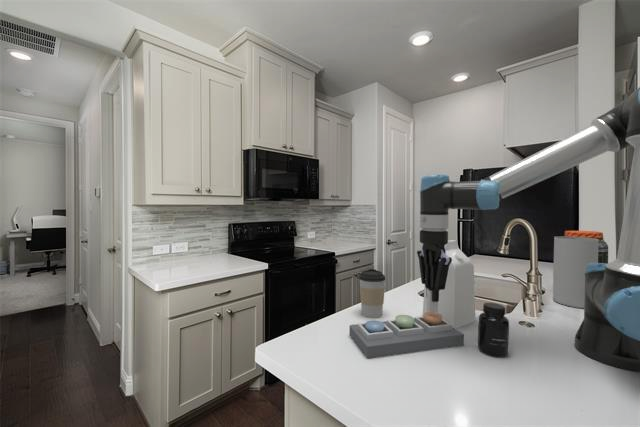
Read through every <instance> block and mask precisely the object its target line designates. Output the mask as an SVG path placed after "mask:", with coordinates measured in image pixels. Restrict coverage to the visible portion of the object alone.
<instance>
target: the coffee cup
mask: <svg viewBox="0 0 640 427" xmlns="http://www.w3.org/2000/svg"><path fill="white" fill-rule="evenodd" d="M358 276H359V277H358V279H359V295H360V303H361V304H360V305H361V315H362V316H363V317H366V318H371V319H377V318H381V317H382V316H383V309H384V306H383V305H384V303H385V302H384V301H385V290H386V286H385V282H386V275H385V274H383V272H382V271H379V270H376V268H375V269H373V268H369V269H366V270H363V271H362V272H361V273H360V274H359V275H358Z"/></svg>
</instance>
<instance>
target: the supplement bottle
mask: <svg viewBox="0 0 640 427" xmlns="http://www.w3.org/2000/svg"><path fill="white" fill-rule="evenodd" d="M482 307H483V308H482V311H483V312H481V313H480V315H478V322H477V323H478V324H477V325H478V326H477V328H478V330H477V347H478V350H479V351H481V353H483V354H485V355H487V356H490V357H494V358H505V357H507V356H508V354H509V345H510V344H509V343H510V342H509V339H510V320H509V319H508V318H507V316H506V306H504V305H502V304H500V303H496V302H495V303H494V302H485V303H484V302H483V306H482Z"/></svg>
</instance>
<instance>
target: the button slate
mask: <svg viewBox="0 0 640 427" xmlns="http://www.w3.org/2000/svg"><path fill="white" fill-rule="evenodd" d="M380 321H381V320H375V319H373V320H372V319H371V320H368V321H366V322H365V323H366V330H367V331H368V332H369V333H377V332H384V323H382V322H383V321H382V322H380Z"/></svg>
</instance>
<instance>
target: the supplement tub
mask: <svg viewBox="0 0 640 427" xmlns="http://www.w3.org/2000/svg"><path fill="white" fill-rule="evenodd" d="M564 236H567V237H585V238H594V239H598V263H607V264H608V263H609V245H608V243H607V242H606V241H605V239H604V233H603V232H601V231H593V230H565V231H564Z"/></svg>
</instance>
